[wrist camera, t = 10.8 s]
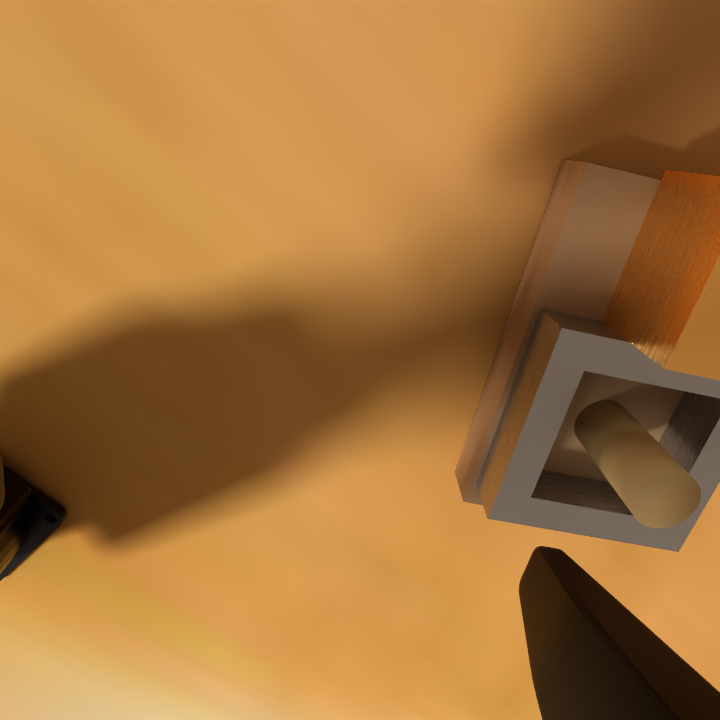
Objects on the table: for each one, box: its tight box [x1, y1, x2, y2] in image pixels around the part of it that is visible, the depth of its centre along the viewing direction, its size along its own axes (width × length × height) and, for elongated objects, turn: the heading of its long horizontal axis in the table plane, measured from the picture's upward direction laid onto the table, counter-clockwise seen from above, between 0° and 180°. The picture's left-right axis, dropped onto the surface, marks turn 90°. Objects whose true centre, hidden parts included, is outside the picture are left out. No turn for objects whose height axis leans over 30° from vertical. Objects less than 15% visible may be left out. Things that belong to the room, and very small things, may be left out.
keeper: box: [455, 159, 701, 528], centre depth 18 cm, size 13×8×6 cm, turn 168°
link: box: [476, 170, 720, 552], centre depth 17 cm, size 12×7×4 cm, turn 168°
